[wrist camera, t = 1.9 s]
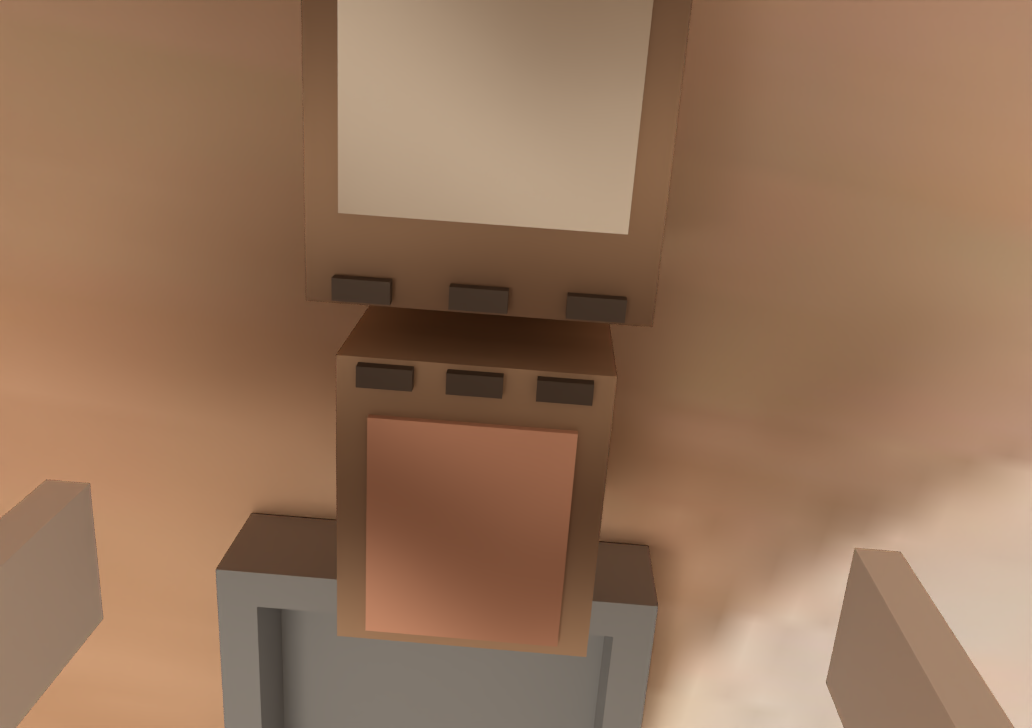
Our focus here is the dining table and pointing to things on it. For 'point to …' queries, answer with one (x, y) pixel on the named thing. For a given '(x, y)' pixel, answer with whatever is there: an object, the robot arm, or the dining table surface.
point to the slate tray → (412, 649)
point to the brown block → (471, 478)
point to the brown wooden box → (490, 153)
